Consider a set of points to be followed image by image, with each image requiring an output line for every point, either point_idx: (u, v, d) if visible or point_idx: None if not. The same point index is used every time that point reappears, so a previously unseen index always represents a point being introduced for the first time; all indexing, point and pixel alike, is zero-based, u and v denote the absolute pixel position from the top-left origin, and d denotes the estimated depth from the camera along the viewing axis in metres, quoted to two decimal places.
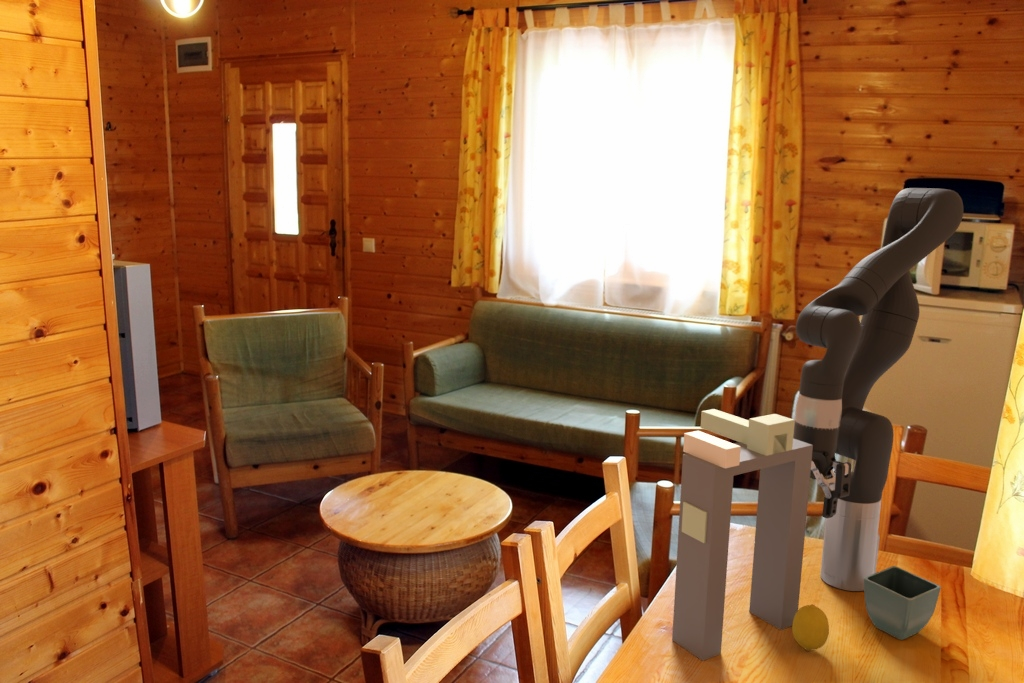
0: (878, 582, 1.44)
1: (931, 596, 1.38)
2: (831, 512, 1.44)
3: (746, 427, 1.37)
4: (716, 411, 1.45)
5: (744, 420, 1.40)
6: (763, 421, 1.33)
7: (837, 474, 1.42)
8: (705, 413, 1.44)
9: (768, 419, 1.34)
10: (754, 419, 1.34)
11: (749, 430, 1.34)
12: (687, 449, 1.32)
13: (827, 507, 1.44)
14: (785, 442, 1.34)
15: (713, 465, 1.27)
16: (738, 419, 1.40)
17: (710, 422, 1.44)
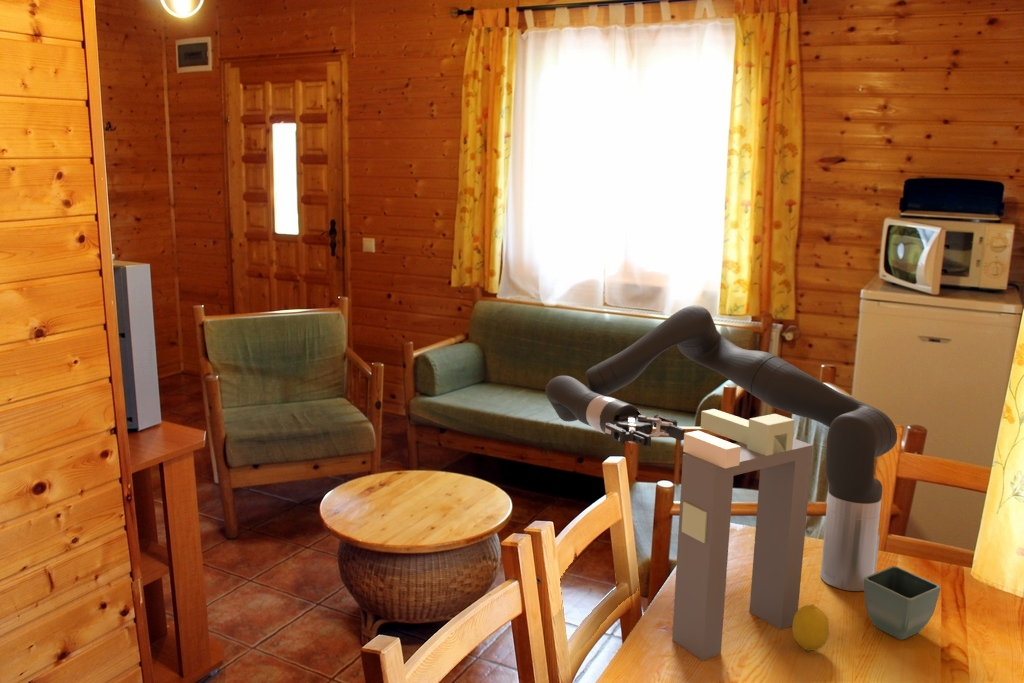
0: (878, 582, 1.44)
1: (931, 596, 1.38)
2: None
3: (746, 427, 1.37)
4: (716, 411, 1.45)
5: (744, 420, 1.40)
6: (763, 421, 1.33)
7: (660, 417, 1.69)
8: (705, 413, 1.44)
9: (768, 419, 1.34)
10: (754, 419, 1.34)
11: (749, 430, 1.34)
12: (687, 449, 1.32)
13: None
14: (785, 442, 1.34)
15: (713, 465, 1.27)
16: (738, 419, 1.40)
17: (710, 422, 1.44)
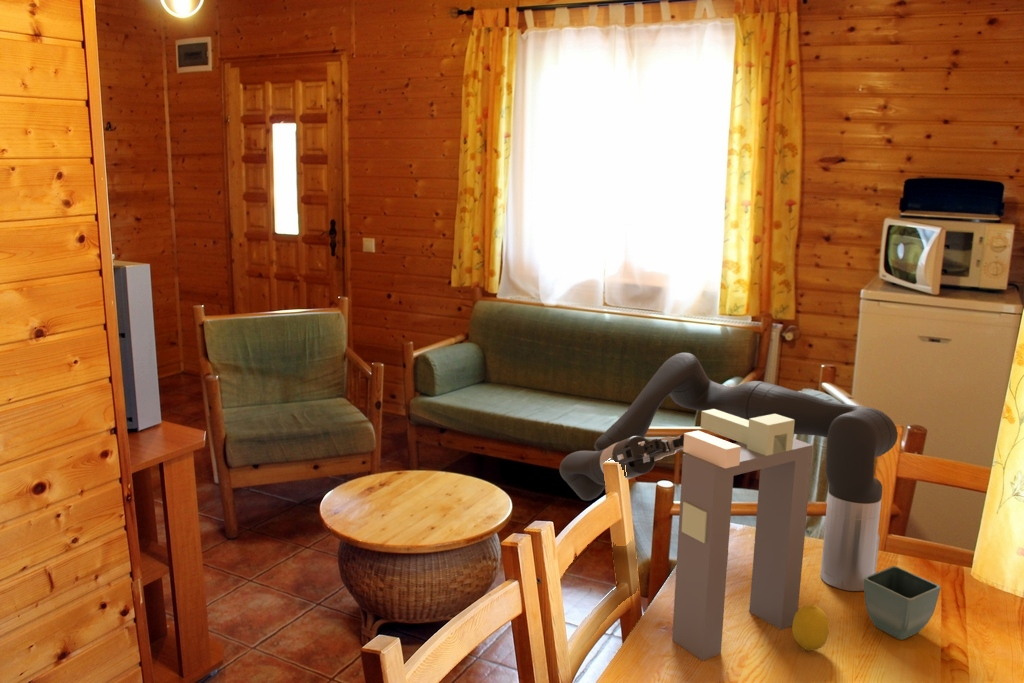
0: (878, 582, 1.44)
1: (931, 596, 1.38)
2: None
3: (746, 427, 1.37)
4: (716, 411, 1.45)
5: (744, 420, 1.40)
6: (763, 421, 1.33)
7: None
8: (705, 413, 1.44)
9: (768, 419, 1.34)
10: (754, 419, 1.34)
11: (749, 430, 1.34)
12: (687, 449, 1.32)
13: None
14: (785, 442, 1.34)
15: (713, 465, 1.27)
16: (738, 419, 1.40)
17: (710, 422, 1.44)
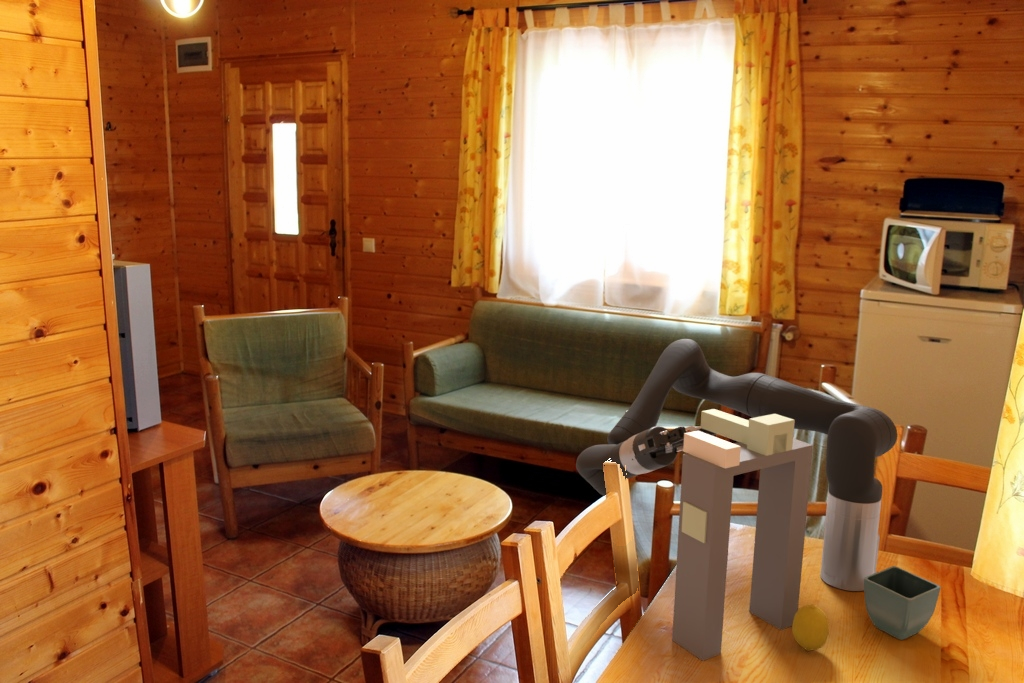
0: (878, 582, 1.44)
1: (931, 596, 1.38)
2: None
3: (746, 427, 1.37)
4: (716, 411, 1.45)
5: (744, 420, 1.40)
6: (763, 421, 1.33)
7: None
8: (705, 413, 1.44)
9: (768, 419, 1.34)
10: (754, 419, 1.34)
11: (749, 430, 1.34)
12: (687, 449, 1.32)
13: None
14: (785, 442, 1.34)
15: (713, 465, 1.27)
16: (738, 419, 1.40)
17: (710, 422, 1.44)
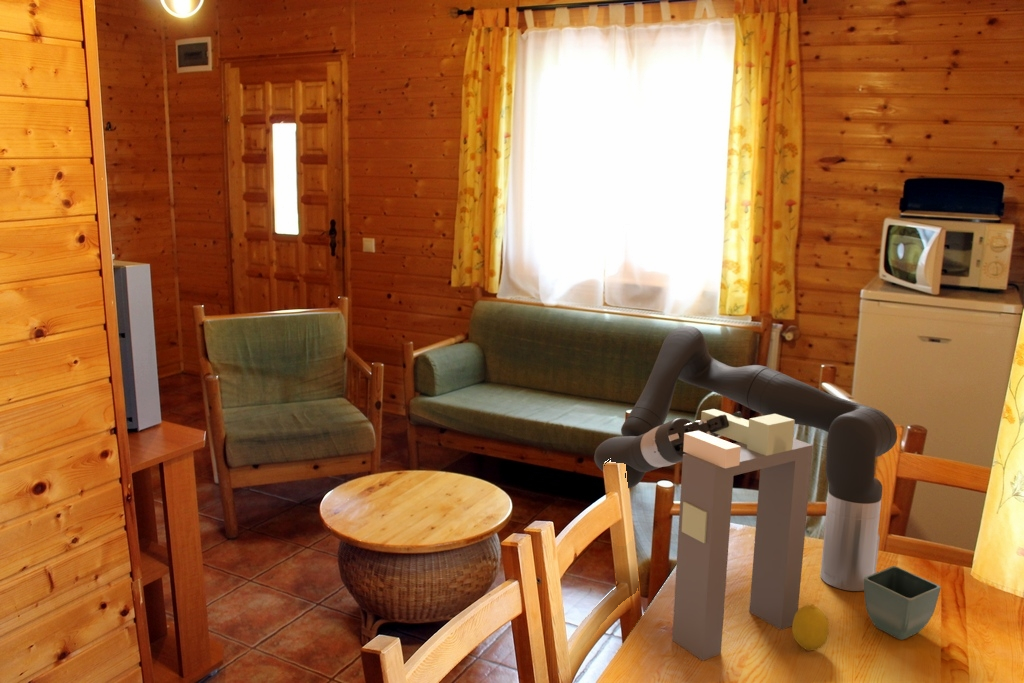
0: (878, 582, 1.44)
1: (931, 596, 1.38)
2: None
3: (746, 427, 1.37)
4: (716, 411, 1.45)
5: (744, 420, 1.40)
6: (763, 421, 1.33)
7: None
8: (705, 413, 1.44)
9: (768, 419, 1.34)
10: (754, 419, 1.34)
11: (749, 430, 1.34)
12: (687, 449, 1.32)
13: None
14: (785, 442, 1.34)
15: (713, 465, 1.27)
16: (738, 419, 1.40)
17: None
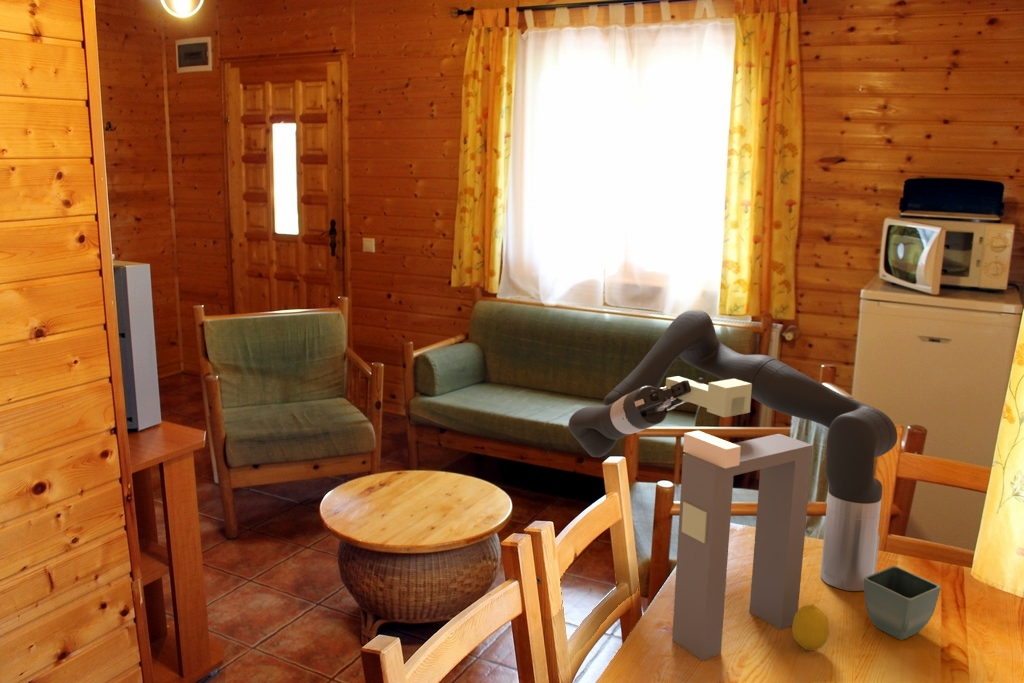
0: (878, 582, 1.44)
1: (931, 596, 1.38)
2: None
3: (706, 391, 1.43)
4: (679, 378, 1.52)
5: (705, 385, 1.47)
6: (722, 385, 1.39)
7: None
8: (669, 380, 1.51)
9: (726, 383, 1.41)
10: (713, 383, 1.40)
11: (708, 393, 1.41)
12: (687, 449, 1.32)
13: None
14: (743, 405, 1.40)
15: (713, 465, 1.27)
16: (700, 385, 1.47)
17: None
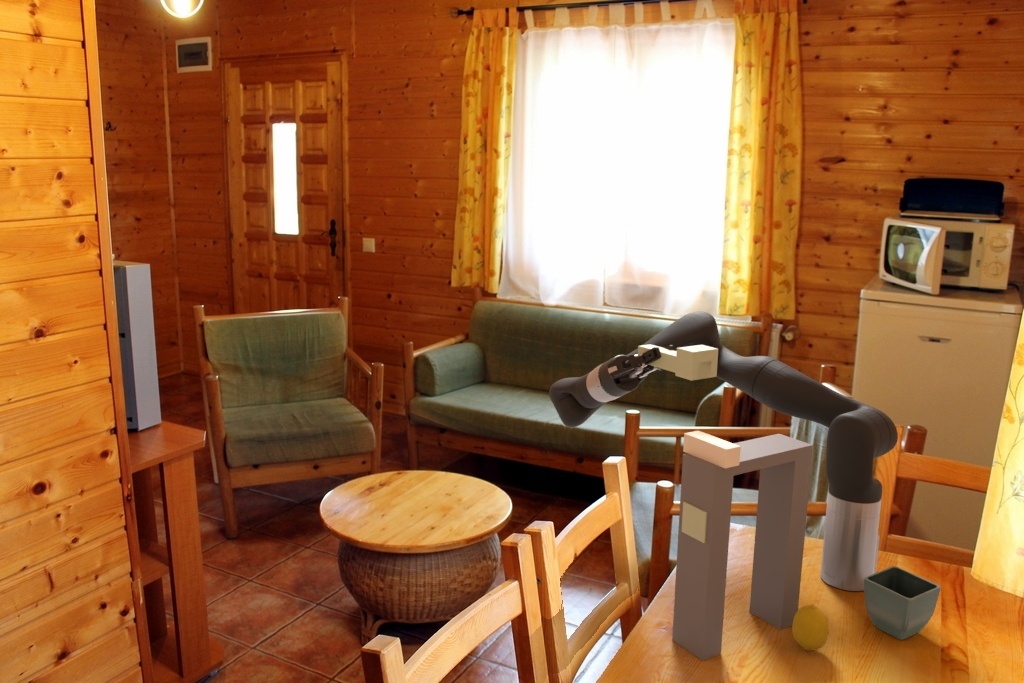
0: (878, 582, 1.44)
1: (931, 596, 1.38)
2: None
3: (675, 357, 1.49)
4: (651, 346, 1.58)
5: (675, 352, 1.53)
6: (689, 349, 1.45)
7: None
8: (641, 347, 1.57)
9: (694, 348, 1.47)
10: (681, 348, 1.46)
11: (676, 358, 1.47)
12: (687, 449, 1.32)
13: None
14: (709, 369, 1.46)
15: (713, 465, 1.27)
16: (669, 351, 1.53)
17: None
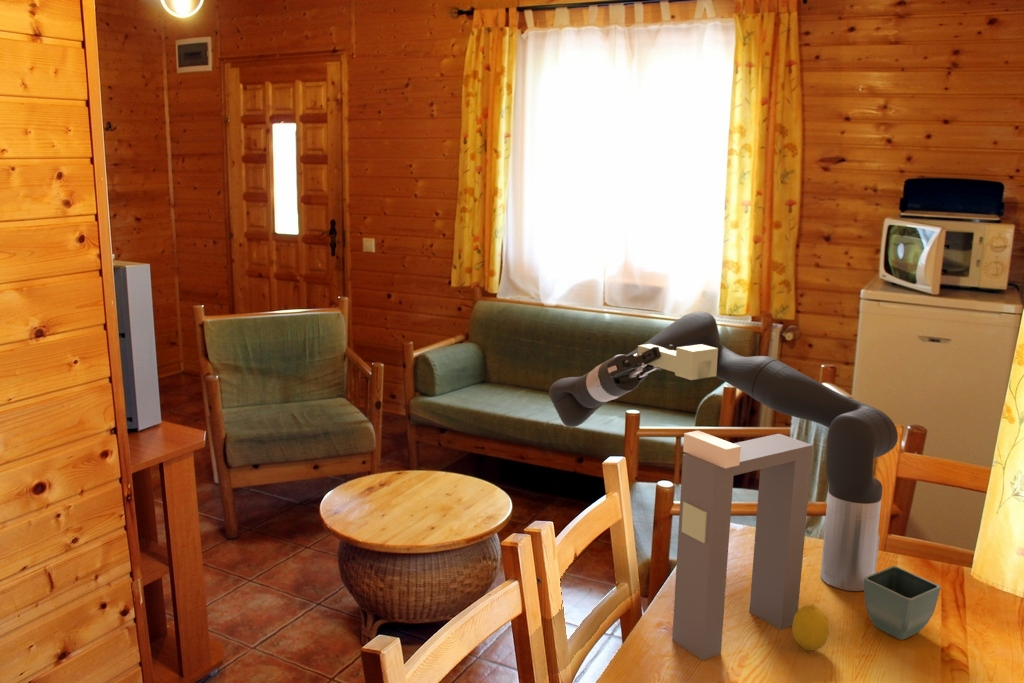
0: (878, 582, 1.44)
1: (931, 596, 1.38)
2: None
3: (675, 356, 1.50)
4: (651, 345, 1.58)
5: (675, 351, 1.53)
6: (689, 349, 1.46)
7: None
8: (641, 347, 1.57)
9: (694, 347, 1.47)
10: (681, 347, 1.47)
11: (676, 358, 1.47)
12: (687, 449, 1.32)
13: None
14: (709, 368, 1.46)
15: (713, 465, 1.27)
16: (669, 351, 1.53)
17: None
